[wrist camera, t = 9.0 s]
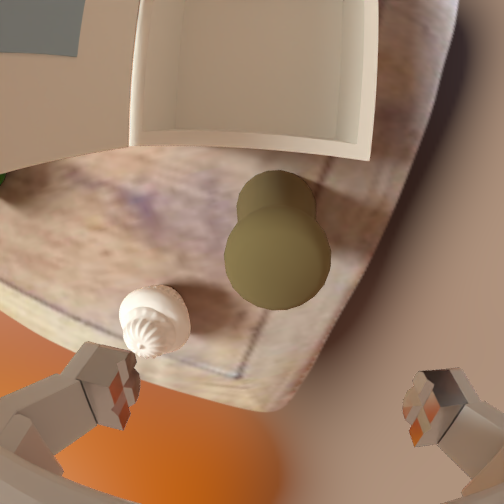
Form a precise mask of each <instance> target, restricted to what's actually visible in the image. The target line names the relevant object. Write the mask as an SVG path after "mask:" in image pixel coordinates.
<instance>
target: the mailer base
mask: <svg viewBox="0 0 504 504" xmlns="http://www.w3.org/2000/svg"><path fill="white" fill-rule="evenodd" d="M377 65H378V0H140V7H139V14H138V21H137V29H136V38H135V48H134V58H133V70H132V85H131V103H130V138H129V146H211V147H234V148H251V149H265V150H278V151H289V152H299V153H309V154H318V155H327V156H335V157H343V158H350V159H357V160H364V161H370V153H371V144H372V134H373V124H374V113H375V100H376V84H377Z"/></svg>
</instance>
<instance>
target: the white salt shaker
mask: <svg viewBox="0 0 504 504" xmlns="http://www.w3.org/2000/svg"><path fill="white" fill-rule="evenodd" d="M187 310H188V309H187V307H186V305H185V303H184V301H183V299H182V297H181V295H180V294H179V293H178V292H176V290H174V289H172V287H169V286H165V285H155V286H147V287H143V288H141V289H137V290H135V291H133V292H131V293H129V294H128V295H127V296H126V297H125V299H124V300H123V302H122V303H121V306H120V310H119V318H120V323H121V326H122V329H123V333H124V335H123V338H124V341H125V343H126V345H127V347H128V348H129V349H130V350H132V352H133V353H135V354H138V356H139V357H142V356H144V357H145V358H146V359H147V358H149V357H151V358H155V357H156V356H161V355H162V354H165V353H170V352H173V351H176V350H178V349H180V348H181V347H182V346H183V345H184V344H185V343H186V341H187V340H188V338H189V335H190V331H191V324H190V319H189V313H188V311H187Z"/></svg>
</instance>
